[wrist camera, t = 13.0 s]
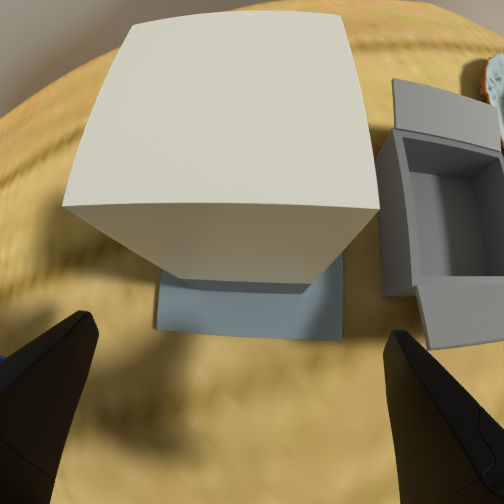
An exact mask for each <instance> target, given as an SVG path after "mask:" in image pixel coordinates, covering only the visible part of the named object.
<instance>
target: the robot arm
mask: <svg viewBox="0 0 504 504" xmlns="http://www.w3.org/2000/svg"><path fill="white" fill-rule="evenodd" d="M98 337H99V331H98V328H97V326H96V323H95V321H94V318H93V316H92V314H91V313H90V312H88V311H82V310H79V311H77V312H75V313H74V314H72V315H70V316H69V317H67V318H66V319H64V320H63V321H61V322H60V323H58V324H56V325H55V326H53V327H52V328H50V329H49V330H47V331H46V332H44V333H43V334H41V335H40V336H38V337H37V338H35V339H34V340H32V341H31V342H29V343H28V344H26V345H25V346H23V347H22V348H20V349H19V350H17V351H16V352H14V353H13V354H11V355H10V356H8V357H7V358H6V359H4V360H3V361H1V362H0V504H50V500H51V496H52V492H53V487H54V483H55V479H56V475H57V471H58V467H59V463H60V460H61V456H62V453H63V449H64V446H65V442H66V439H67V436H68V433H69V429H70V426H71V423H72V420H73V417H74V414H75V411H76V408H77V405H78V402H79V399H80V396H81V394H82V391H83V388H84V385H85V383H86V380H87V377H88V373H89V370H90V366H91V362H92V359H93V355H94V351H95V348H96V344H97V341H98ZM383 361H384V372H385V384H386V397H387V405H388V411H389V417H390V423H391V429H392V436H393V442H394V449H395V457H396V465H397V473H398V482H399V492H400V504H504V429H503V428H502V427H501V426H500V425H499V424H498V423H497V422H496V421H495V420H494V419H493V418H492V417H491V416H490V415H489V414H488V413H487V412H486V411H485V409H484V408H483V407H482V406H480V404H479V403H478V402H477V401H476V400H475V399H474V398H473V397H472V396H471V395H470V394H469V393H468V392H467V391H466V390H465V389H464V388H463V387H462V386H461V384H460V383H459V382H458V381H457V380H456V379H455V378H454V377H453V376H452V375H451V374H450V373H449V372H448V371H447V370H446V369H445V368H444V367H443V366H442V365H441V364H440V363H439V362H438V361H437V360H436V359H435V358H434V357H433V356H432V355H431V354H430V353H429V352H428V351H427V350H426V349H425V348H424V347H423V346H422V345H420V344H419V343H418V342H417V341H416V340H415V339H414V338H413V337H412V336H411V335H410V334H409V333H408V332H407V331H405V330H394V331H392V332H391V333H390V336H389V338H388V341H387V343H386V345H385V348H384V351H383Z"/></svg>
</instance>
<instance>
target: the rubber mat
mask: <svg viewBox="0 0 504 504" xmlns="http://www.w3.org/2000/svg"><path fill="white" fill-rule="evenodd" d="M157 330H166V331H175V332H185V333H196V334H208V335H222V336H237V337H256V338H281V339H342V333H343V251H342V252H341V253H340V255H339V256H338V257H337V258H336V259H335V260H334V261H333V262H332V263H331V264H330V265H329V266H328V267H327V269H326V270H325V271H324V272H323V273H322V274H321V275H320V276H319V277H318V278H317V279H316V280H315V281H314V282H313V283H312V284H311V285H310V286H309V287H308V289H307V290H306V291H305V292H304V293H303V294H270V293H244V292H223V291H204V290H199V289H197V288H195V287H193V286H192V285H190V284H188V283H186V282H185V281H183V280H181V279H179V278H177V277H176V276H174V275H172V274H170V273H169V272H167V271H165V270H164V269H161V279H160V289H159V301H158V314H157Z"/></svg>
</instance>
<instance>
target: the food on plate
mask: <svg viewBox="0 0 504 504" xmlns="http://www.w3.org/2000/svg"><path fill="white" fill-rule="evenodd" d="M483 68H484V70H485V71H484V74H483V76H482V77H481V78H480V84H481V85H482V87H481V89H480V93H481V95H482V94H483V93H484V92H485V93H484V96H486V97H487V102H486V104H489V105H492V106H494V107H497V108H498V116H499V126H500V138H501V141H502V146H503V149H504V53H500V54H499V55H498V54H497V55H495V56H493V57H491V58H489V59H488V60H486V61H485V65H484V67H483Z"/></svg>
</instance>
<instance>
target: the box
mask: <svg viewBox="0 0 504 504" xmlns="http://www.w3.org/2000/svg"><path fill="white" fill-rule="evenodd" d="M62 207H64V208H65V209H67V210H68V211H70V212H71V213H73V214H74V215H76V216H77V217H79V218H80V219H82V220H83V221H85V222H87V223H88V224H90V225H91V226H93V227H94V228H96V229H98V230H99V231H101V232H102V233H104V234H105V235H107V236H109V237H110V238H112V239H114V240H115V241H117V242H118V243H120V244H122V245H123V246H125V247H127V248H128V249H130V250H132V251H133V252H135V253H136V254H138V255H140V256H141V257H143V258H145V259H147V260H148V261H150V262H152V263H153V264H155V265H157V266H158V267H160V268H162V269H164V270H165V271H167V272H169V273H170V274H172V275H174V276H176V277H177V278H179V279H181V280H183V281H185V282H186V283H188V284H190V285H192V286H193V287H195V288H197V289H199V290H204V291H223V292H244V293H270V294H303V293H304V292H305V291H306V290H307V289H308V287H309V286H310V285H311V284H312V283H313V282H314V281H315V280H316V279H317V278H318V277H319V276H320V275H321V274H322V273H323V272H324V271H325V270H326V269H327V267H328V266H329V265H330V264H331V263H332V262H333V261H334V260H335V259H336V258H337V257H338V256H339V255H340V253H341V252H342V251H343V250H344V249H345V248H346V247H347V246H348V245H349V244H350V243H351V241H352V240H353V239H354V238H355V237H356V236H357V235H358V234H359V233H360V231H361V230H362V229H363V228H364V227H365V226H366V225H367V224H368V222H369V221H370V220H371V219H372V218H373V217H374V216H375V214H376V213H377V212H378V211H379V210H380V205H379V196H378V187H377V179H376V171H375V164H374V157H373V151H372V145H371V139H370V133H369V127H368V122H367V117H366V112H365V107H364V102H363V97H362V93H361V88H360V84H359V80H358V76H357V72H356V68H355V64H354V60H353V56H352V53H351V49H350V45H349V42H348V39H347V35H346V32H345V29H344V25H343V22H342V19H341V16H340V15H332V14H322V13H311V12H297V11H231V12H217V13H206V14H196V15H188V16H181V17H175V18H168V19H162V20H156V21H152V22H146V23H141V24H137V25H133V26H132V28H131V30H130V31H129V33H128V35H127V37H126V39H125V41H124V42H123V44H122V46H121V48H120V50H119V52H118V54H117V56H116V58H115V60H114V62H113V64H112V66H111V68H110V70H109V72H108V74H107V76H106V79H105V81H104V83H103V85H102V87H101V90H100V92H99V94H98V97H97V99H96V102H95V104H94V106H93V109H92V111H91V114H90V117H89V119H88V122H87V125H86V127H85V130H84V133H83V136H82V138H81V141H80V144H79V147H78V150H77V153H76V157H75V160H74V163H73V166H72V170H71V173H70V177H69V180H68V184H67V187H66V191H65V195H64V199H63V203H62Z"/></svg>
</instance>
